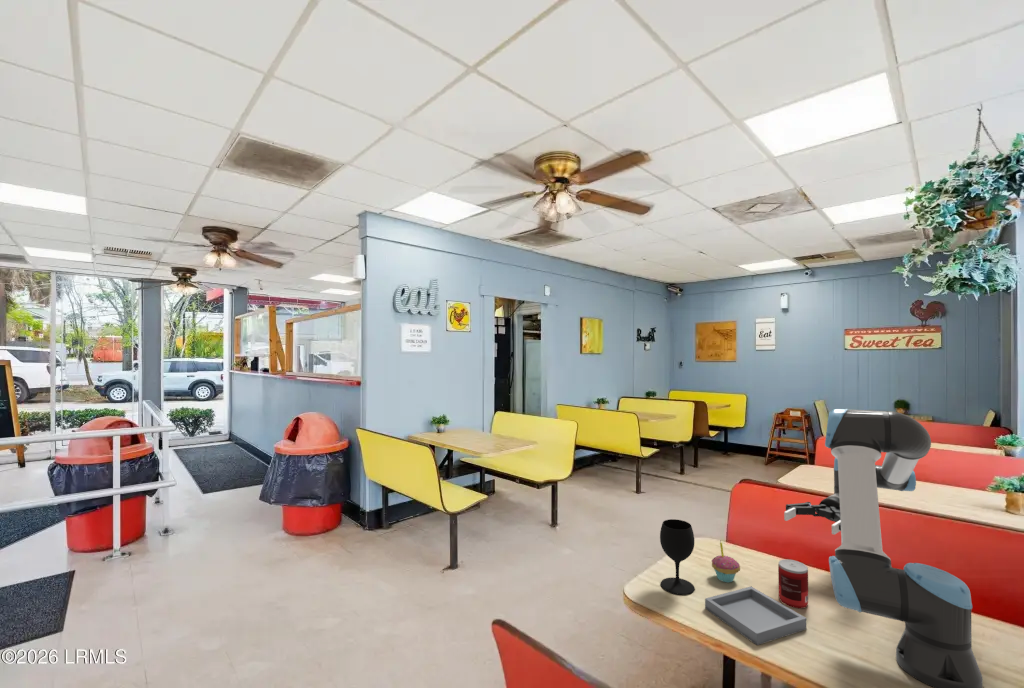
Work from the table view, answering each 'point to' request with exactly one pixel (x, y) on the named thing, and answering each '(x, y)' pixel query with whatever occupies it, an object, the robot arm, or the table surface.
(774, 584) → the table surface
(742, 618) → the tray
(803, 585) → the canned food
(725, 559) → the cupcake
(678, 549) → the wine glass
